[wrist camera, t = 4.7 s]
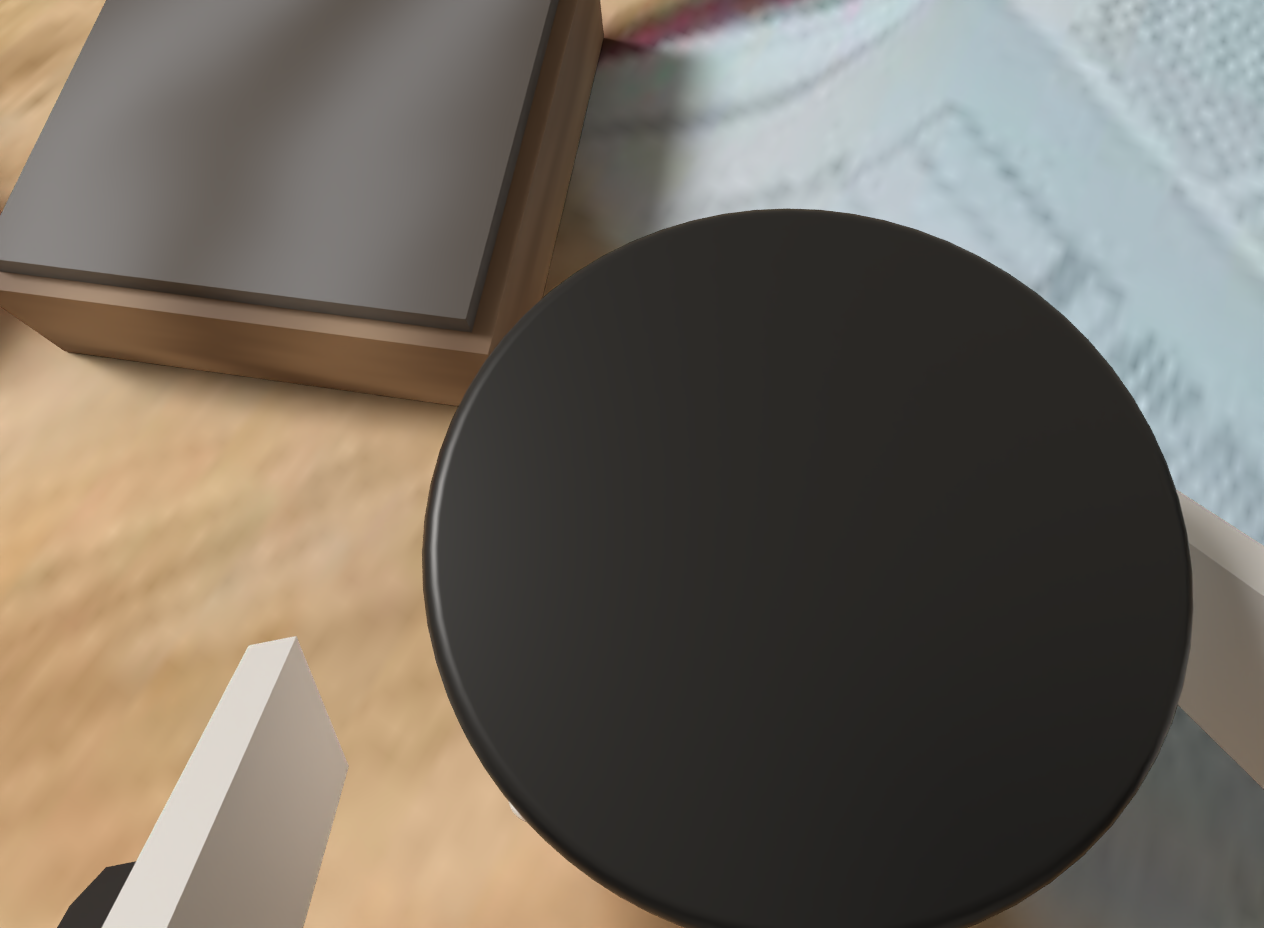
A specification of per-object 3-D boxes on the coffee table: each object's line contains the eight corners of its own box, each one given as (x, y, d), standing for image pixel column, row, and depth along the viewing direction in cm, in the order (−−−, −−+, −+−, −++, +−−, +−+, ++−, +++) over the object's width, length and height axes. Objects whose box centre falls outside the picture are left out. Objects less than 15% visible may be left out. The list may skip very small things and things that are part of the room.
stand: (603, 36, 27) (591, -83, 23) (514, 413, 23) (482, 342, 19) (216, 1, 29) (146, -116, 25) (64, 351, 24) (-49, 272, 20)
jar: (492, 774, 20) (242, 767, 9) (611, 456, 22) (539, 126, 11) (880, 920, 18) (1195, 1143, 7) (960, 563, 21) (1287, 310, 10)
